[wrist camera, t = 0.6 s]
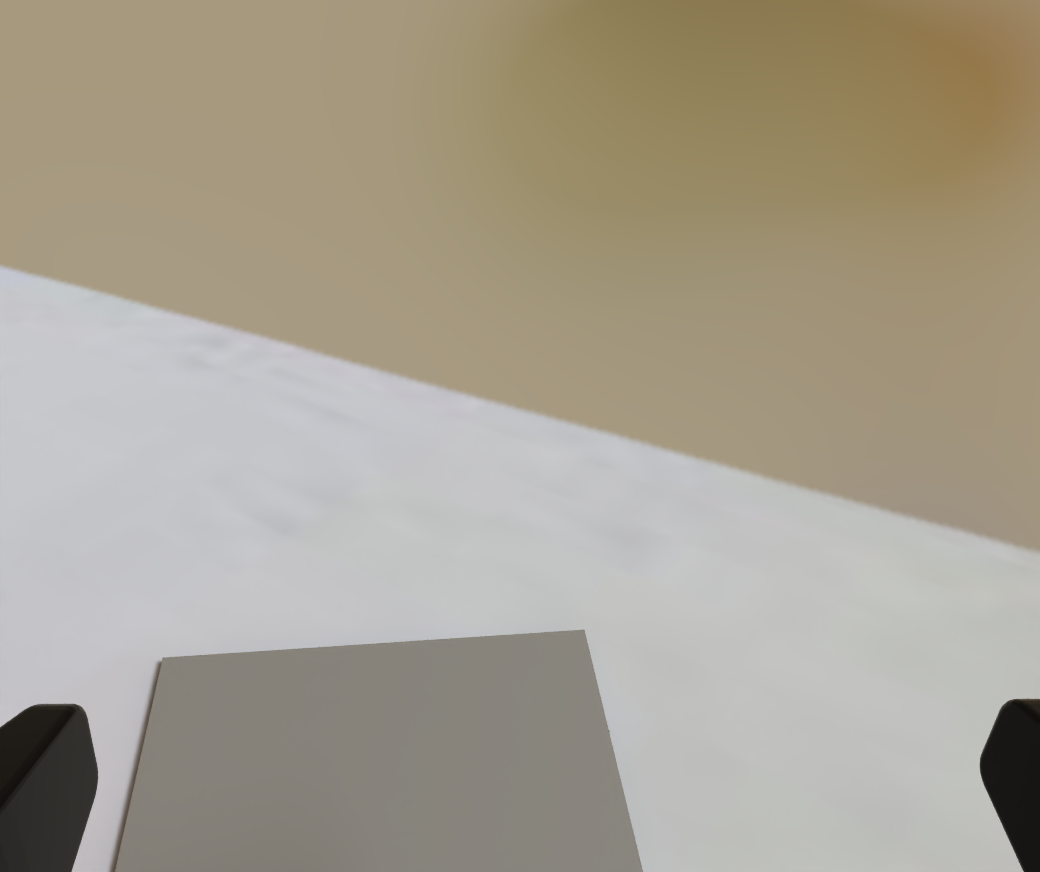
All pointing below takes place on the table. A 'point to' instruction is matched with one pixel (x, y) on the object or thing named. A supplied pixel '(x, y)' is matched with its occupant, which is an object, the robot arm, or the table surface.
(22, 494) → the table surface
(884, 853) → the table surface
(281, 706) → the rubber mat
